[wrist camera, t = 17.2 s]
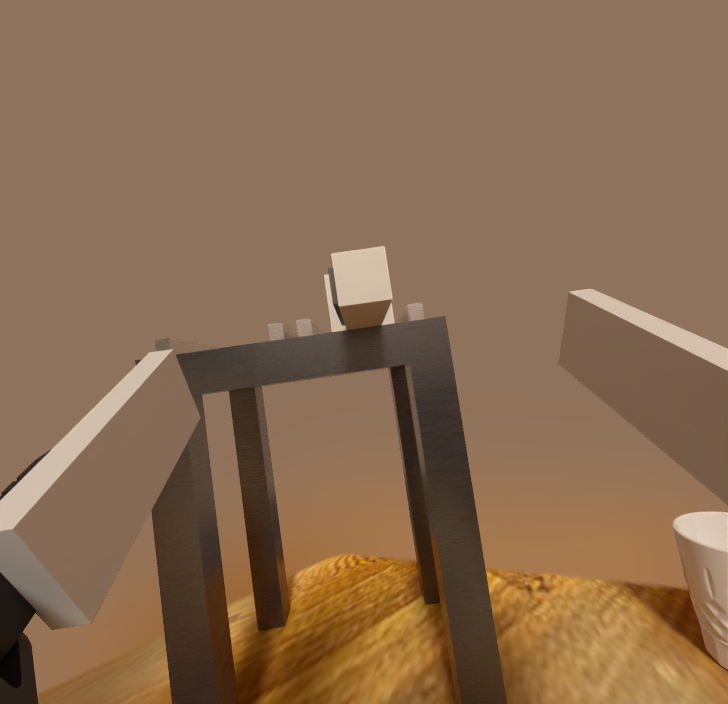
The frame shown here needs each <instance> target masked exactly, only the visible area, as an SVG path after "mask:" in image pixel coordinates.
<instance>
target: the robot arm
mask: <svg viewBox="0 0 728 704" xmlns="http://www.w3.org/2000/svg"><path fill="white" fill-rule="evenodd" d="M558 364H559V365H560V366H561V367H562V368H564V369H565V370H566V371H567V372H569V373H570V374H571V375H572V376H573V377H574V378H576V379H577V380H578V381H579V382H581V383H582V384H583V385H584V386H585V387H586V388H588V389H589V390H590V391H591V392H592V393H594V394H595V395H596V396H597V397H599V398H600V399H601V400H602V401H603V402H604V403H606V404H607V405H608V406H609V407H611V408H612V409H613V410H614V411H616V413H618V414H619V415H620V416H621V417H622V418H624V419H625V420H626V421H627V422H628V423H630V424H631V425H632V426H633V427H634V428H636V429H637V430H638V431H639V432H641V433H642V434H643V435H644V436H645V437H646V438H648V439H649V440H650V441H651V442H652V443H654V444H655V445H656V446H658V448H660V449H661V450H662V451H663V452H665V453H666V454H667V455H668V456H669V457H671V458H672V459H673V460H674V461H675V462H676V463H678V464H679V465H680V466H681V467H683V468H684V469H685V470H686V471H687V472H689V473H690V474H691V475H692V476H693V477H694V478H696V479H697V480H698V481H699V482H700V483H702V484H703V485H704V486H705V487H707V488H708V489H709V490H710V491H711V492H712V493H714V494H715V495H716V496H717V497H719V498H720V499H721V500H722V501H723V502H724V503H726V504H727V505H728V349H727V348H725V347H722V346H720V345H718V344H716V343H713V342H711V341H709V340H706V339H704V338H702V337H699V336H697V335H695V334H693V333H690V332H688V331H686V330H684V329H681V328H679V327H677V326H675V325H672V324H670V323H668V322H666V321H663V320H661V319H659V318H657V317H654V316H652V315H650V314H647V313H645V312H643V311H641V310H638V309H636V308H634V307H632V306H629V305H627V304H624V303H623V302H620V301H618V300H616V299H613V298H611V297H609V296H607V295H604V294H602V293H600V292H598V291H595V290H593V289H585V290H578V291H571V292H568V299H567V307H566V314H565V321H564V328H563V335H562V342H561V350H560V356H559V363H558ZM200 418H201V417H200V415H199V412H198V410H197V407H196V405H195V402H194V400H193V397H192V395H191V392H190V390H189V387H188V385H187V382H186V380H185V377H184V375H183V372H182V370H181V367H180V365H179V362H178V360H177V357H176V355H175V352H174V350H173V349H170V350H163V351H156V352H150V353H148V354H147V356H146V357H145V358H143V359H142V360H141V361H140V362H139V363H138V364H137V365H136V366H135V367H134V368H133V369H132V370H131V372H129V373H128V374H127V375H126V376H125V377H124V378H123V379H122V380H121V381H120V382H119V383H118V384H117V385H116V386H115V387H114V388H113V389H112V390H111V391H110V392H109V393H108V394H107V395H106V396H105V397H104V398H103V399H102V400H101V401H100V402H99V403H98V404H97V405H96V406H95V407H94V408H93V409H92V410H91V411H90V412H89V413H88V414H87V415H86V416H85V417H84V418H83V419H82V420H81V421H80V422H79V423H78V424H77V425H76V426H75V427H74V428H73V429H72V430H71V431H70V432H69V433H68V434H67V435H66V436H65V437H64V438H63V439H62V440H61V441H60V442H59V443H58V444H57V445H56V446H55V447H54V448H53V449H51V450H50V451H48V452H47V453H45V454H44V455H42V456H41V457H39V458H38V459H36V460H35V461H34V462H33V463H32V464H31V465H30V466H29V467H28V468H27V469H26V470H25V471H24V472H23V473H22V474H20V475H19V476H18V477H17V481H14V482H12V483H11V484H10V485H9V486H8V487H7V488H6V489H5V490H4V491H3V492H2V496H1V497H0V704H38V699H37V690H36V681H35V673H34V664H33V655H32V646H31V643H30V641H29V639H28V637H27V636H26V635H25V634H24V633H23V630H24V629H25V627H26V626H27V624H28V623H29V621H30V620H31V618H32V617H33V615H34V614H35V613H36V614H37V615H38V616H39V617H40V618H41V619H42V620H43V621H44V622H45V623H46V624H47V625H48V626H49V627H50V629H51V630H54V629H60V628H67V627H73V626H79V625H85V624H91V623H92V622H93V620H94V618H95V616H96V614H97V612H98V610H99V608H100V606H101V605H102V603H103V601H104V599H105V597H106V595H107V593H108V591H109V590H110V587H111V586H112V584H113V582H114V580H115V578H116V576H117V574H118V573H119V571H120V569H121V567H122V565H123V563H124V561H125V559H126V557H127V556H128V554H129V552H130V550H131V548H132V546H133V544H134V542H135V540H136V538H137V536H138V535H139V533H140V531H141V529H142V527H143V525H144V523H145V522H146V520H147V518H148V516H149V514H150V512H151V510H152V508H153V506H154V505H155V503H156V501H157V499H158V497H159V495H160V493H161V491H162V489H163V488H164V486H165V484H166V482H167V480H168V478H169V476H170V474H171V472H172V471H173V469H174V467H175V465H176V463H177V461H178V459H179V457H180V455H181V454H182V452H183V450H184V448H185V446H186V444H187V442H188V440H189V438H190V437H191V435H192V433H193V431H194V429H195V427H196V425H197V423H198V421H199V420H200Z"/></svg>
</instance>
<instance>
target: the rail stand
mask: <svg viewBox="0 0 728 704" xmlns="http://www.w3.org/2000/svg"><path fill="white" fill-rule="evenodd" d="M296 322H297V329H298V332H296V331H295V330H293V329H292V328H290V327H289V326H287V325H286V324H284V323H282V322H281V323H274V324H268V327H269V335H270V341H267V342H260V343H253V344H246V345H239V346H232V347H226V348H219V347H213V346H208V345H203V344H197V343H192V342H186V341H181V340H175V339H170V338H168V339H161V340H155V346H156V351H163V350H170V349H173V350H174V352H175V355H176V357H177V360H178V362H179V365H180V367H181V370H182V372H183V375H184V377H185V380H186V382H187V385H188V387H189V390H190V392H191V395H192V397H193V400H194V402H195V405H196V407H197V410H198V412H199V415H200V417H201V418H200V420H199V421H198V423H197V425H196V427H195V429H194V431H193V433H192V435H191V437H190V438H189V440H188V442H187V444H186V446H185V448H184V450H183V452H182V454H181V455H180V457H179V459H178V461H177V463H176V465H175V467H174V469H173V471H172V472H171V474H170V476H169V478H168V480H167V482H166V484H165V486H164V488H163V489H162V491H161V493H160V495H159V497H158V499H157V501H156V503H155V505H154V506H153V508H152V510H151V511H152V520H153V529H154V539H155V548H156V557H157V567H158V576H159V585H160V595H161V603H162V613H163V623H164V631H165V641H166V650H167V660H168V669H169V678H170V688H171V697H172V704H238V697H237V688H236V680H235V671H234V663H233V654H232V646H231V637H230V629H229V620H228V612H227V603H226V596H225V587H224V578H223V570H222V561H221V553H220V544H219V536H218V527H217V518H216V510H215V501H214V494H213V485H212V476H211V467H210V459H209V450H208V443H207V434H206V425H205V416H204V408H203V400H202V395H204V394H211V393H219V392H226V391H229V395H230V403H231V411H232V419H233V428H234V436H235V443H236V452H237V460H238V469H239V476H240V485H241V493H242V501H243V509H244V518H245V526H246V534H247V542H248V550H249V559H250V567H251V575H252V582H253V592H254V600H255V608H256V616H257V624H258V630H264V629H271V628H277V627H283V626H285V624H286V621H287V617H288V614H289V611H290V605H289V597H288V589H287V581H286V575H285V566H284V558H283V550H282V542H281V534H280V526H279V519H278V511H277V503H276V495H275V487H274V479H273V471H272V463H271V455H270V448H269V440H268V433H267V424H266V416H265V408H264V401H263V393H262V386H269V385H275V384H282V383H288V382H296V381H303V380H310V379H317V378H324V377H331V376H338V375H344V374H351V373H358V372H365V371H372V370H378V369H386V368H388V369H389V376H390V383H391V390H392V396H393V403H394V410H395V416H396V423H397V430H398V437H399V443H400V450H401V457H402V464H403V471H404V477H405V484H406V491H407V498H408V503H409V511H410V518H411V525H412V531H413V537H414V545H415V551H416V558H417V565H418V572H419V579H420V585H421V590H422V594H423V598H424V601H425V604H431V603H437V602H441V609H442V615H443V622H444V629H445V635H446V642H447V649H448V655H449V662H450V668H451V675H452V682H453V688H454V695H455V702H456V704H507V702H506V696H505V690H504V683H503V677H502V671H501V664H500V658H499V652H498V645H497V639H496V633H495V627H494V620H493V614H492V608H491V601H490V595H489V589H488V582H487V576H486V570H485V564H484V558H483V551H482V545H481V538H480V532H479V526H478V520H477V513H476V507H475V501H474V494H473V488H472V482H471V475H470V469H469V463H468V456H467V450H466V444H465V438H464V431H463V425H462V419H461V412H460V406H459V400H458V394H457V387H456V381H455V374H454V368H453V362H452V356H451V349H450V343H449V337H448V330H447V325H446V318H445V316H443V317H436V318H429V319H424V313H423V307H422V303H415V304H408V305H407V307H406V308H405V310H404V311H403V313H402V314H401V315H400V317H399V318H398V320H397V321H396V323H394V324H387V325H380V326H373V327H366V328H359V329H351V330H344V331H337V332H331V333H323V332H322V331H321V330H320V328H319V327H318V326H317V325H316V324H315V323H314V322H313V321H312V320H311V319H310V318H309V319H302V320H297V321H296ZM141 360H142V359H141ZM141 360H135V362H136V365H137V364H138V363H139V362H140V361H141Z"/></svg>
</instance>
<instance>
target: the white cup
mask: <svg viewBox="0 0 728 704" xmlns="http://www.w3.org/2000/svg"><path fill="white" fill-rule="evenodd" d="M672 525H673V530H674V534H675V538H676V542H677V546H678V550H679V553H680V558H681V562H682V566H683V571H684V576H685V579H686V582H687V584H688V590H689V594H690V597H691V600H692V603H693V609H694V611H695V613H696V615H697V618H698V621H699V624H700V628H701V632H702V636H703V640H704V645H705V648H706V651H707V652H708V653H709V654H710V655H711V656H712V657H713V658H714V659H715V660H716V661H717V662H718V663H719V664H720V665H721V666H722V667H724V668H725V669H727V670H728V513H727V512H694V513H688V514H684V515H681V516H679V517H677V518H676V519H674V521H673V523H672Z"/></svg>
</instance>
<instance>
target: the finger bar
mask: <svg viewBox="0 0 728 704" xmlns="http://www.w3.org/2000/svg"><path fill="white" fill-rule="evenodd" d="M331 256H332V262H333V268H328V273H329V274H328V275H324V278H325V285H326V293H327V300H328V307H329V314H330V321H331V328H332V332H337V331H344V330H351V329H359V328H366V327H373V326H380V325H387V324H394V316H393V310H392V303H391V302H392V299H393V298H392V291H391V285H390V278H389V271H388V265H387V258H386V252H385V246H382V247H375V248H368V249H360V250H353V251H346V252H339V253H332V254H331Z"/></svg>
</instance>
